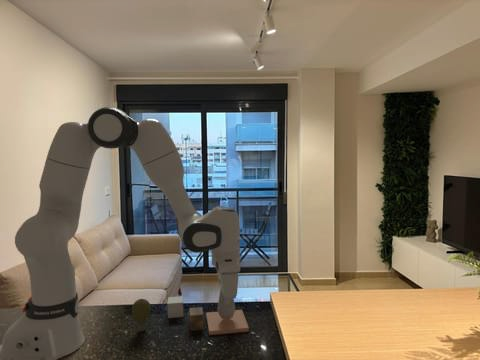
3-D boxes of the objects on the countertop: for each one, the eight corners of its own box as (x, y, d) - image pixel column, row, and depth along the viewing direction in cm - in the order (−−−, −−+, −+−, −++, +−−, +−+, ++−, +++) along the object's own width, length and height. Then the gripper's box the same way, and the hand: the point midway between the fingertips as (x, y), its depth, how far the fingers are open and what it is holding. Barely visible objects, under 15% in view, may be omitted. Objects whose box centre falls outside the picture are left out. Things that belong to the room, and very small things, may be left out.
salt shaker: (233, 321, 111) (232, 280, 109) (215, 319, 112) (214, 279, 110) (237, 312, 116) (237, 274, 115) (220, 311, 117) (219, 272, 116)
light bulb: (155, 330, 110) (154, 299, 109) (139, 337, 106) (137, 305, 105) (145, 324, 114) (144, 294, 113) (129, 331, 110) (127, 299, 109)
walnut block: (190, 331, 110) (189, 315, 109) (189, 323, 115) (189, 308, 114) (203, 329, 111) (203, 314, 110) (202, 322, 116) (202, 307, 115)
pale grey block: (167, 318, 118) (167, 303, 118) (168, 311, 123) (167, 297, 123) (183, 316, 119) (182, 302, 118) (183, 310, 124) (182, 296, 123)
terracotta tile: (209, 335, 107) (209, 331, 107) (206, 316, 119) (206, 312, 119) (248, 331, 109) (248, 327, 109) (241, 313, 121) (241, 309, 121)
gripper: (212, 248, 122) (213, 288, 123) (219, 269, 102) (219, 316, 103) (231, 247, 123) (231, 287, 124) (241, 268, 103) (241, 314, 104)
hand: (226, 300), depth 113 cm, fingers closed on salt shaker, 3 cm apart
